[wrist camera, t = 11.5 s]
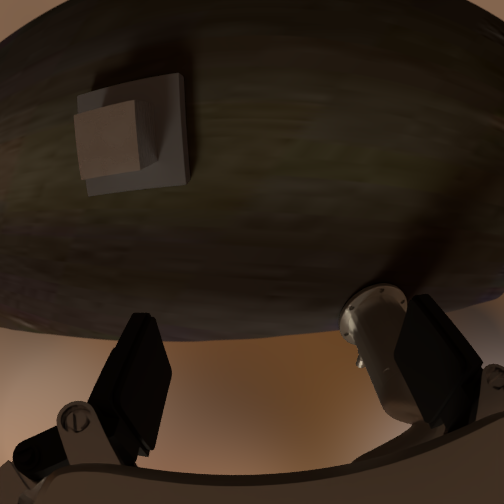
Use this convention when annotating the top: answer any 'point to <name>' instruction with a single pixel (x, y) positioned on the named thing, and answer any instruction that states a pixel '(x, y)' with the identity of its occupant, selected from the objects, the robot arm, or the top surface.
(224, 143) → the top surface
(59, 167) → the top surface
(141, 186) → the grey block
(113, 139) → the grey cube
